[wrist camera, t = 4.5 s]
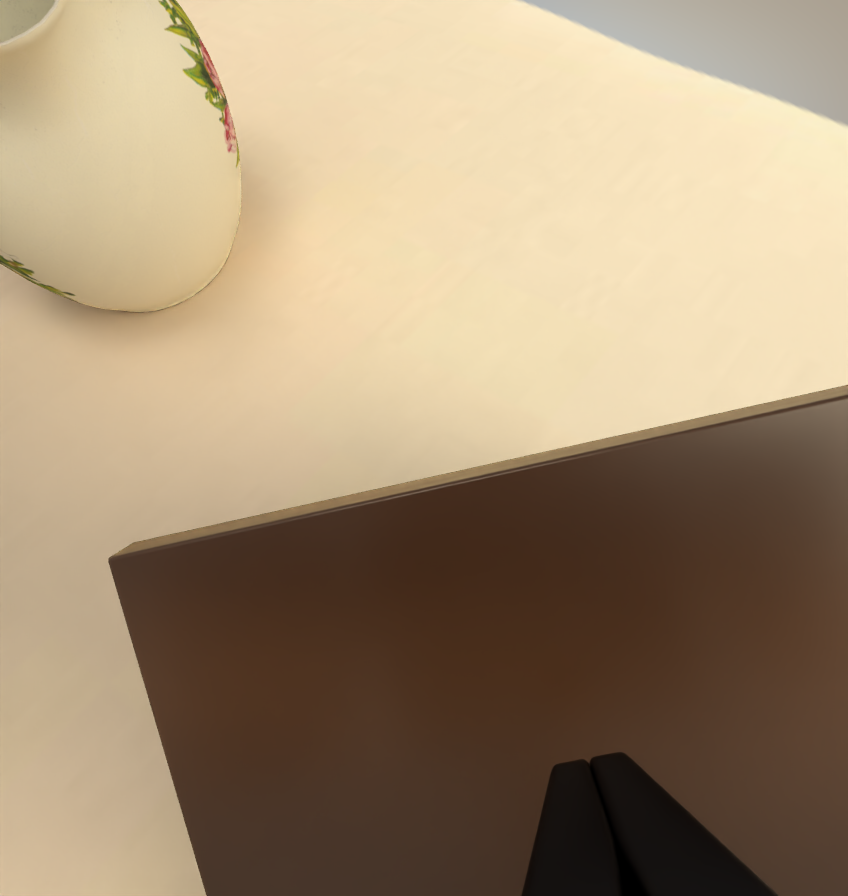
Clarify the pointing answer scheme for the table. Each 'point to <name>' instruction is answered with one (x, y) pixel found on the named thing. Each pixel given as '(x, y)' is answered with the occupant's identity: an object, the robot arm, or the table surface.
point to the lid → (512, 659)
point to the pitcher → (113, 152)
